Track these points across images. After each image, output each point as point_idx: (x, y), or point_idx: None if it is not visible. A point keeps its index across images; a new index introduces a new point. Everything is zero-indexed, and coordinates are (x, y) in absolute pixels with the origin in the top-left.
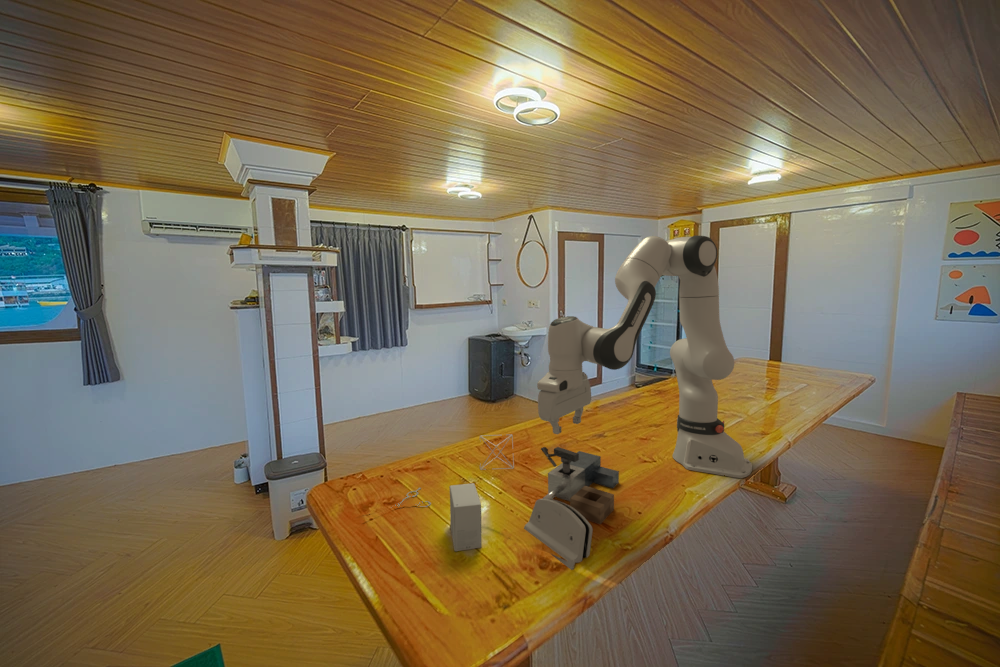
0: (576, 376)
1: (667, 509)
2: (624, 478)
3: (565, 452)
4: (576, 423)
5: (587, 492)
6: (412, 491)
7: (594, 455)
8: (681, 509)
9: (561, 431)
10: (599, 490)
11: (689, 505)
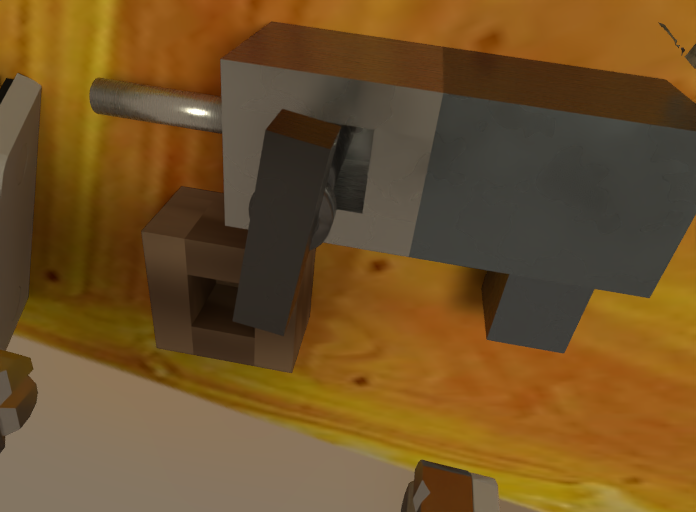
0: None
1: (425, 442)
2: (646, 310)
3: (248, 249)
4: (406, 491)
5: None
6: None
7: (657, 262)
8: None
9: (24, 420)
10: (290, 322)
11: None
